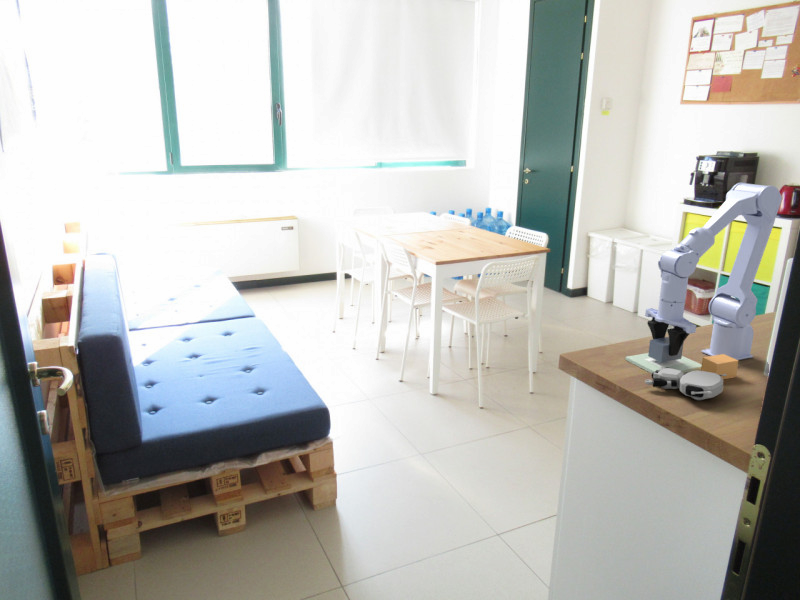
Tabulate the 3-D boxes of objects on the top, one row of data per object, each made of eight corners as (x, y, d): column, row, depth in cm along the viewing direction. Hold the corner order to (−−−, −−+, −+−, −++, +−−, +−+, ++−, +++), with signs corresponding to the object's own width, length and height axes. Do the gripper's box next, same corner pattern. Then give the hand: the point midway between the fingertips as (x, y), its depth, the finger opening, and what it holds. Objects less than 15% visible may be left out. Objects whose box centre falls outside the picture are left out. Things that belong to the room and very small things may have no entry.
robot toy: (641, 394, 136) (713, 409, 126) (642, 376, 135) (714, 389, 125) (660, 378, 144) (728, 390, 135) (660, 360, 143) (730, 372, 134)
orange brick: (720, 370, 146) (723, 353, 145) (735, 377, 142) (738, 360, 141) (700, 374, 144) (702, 357, 143) (714, 381, 140) (717, 364, 139)
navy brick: (667, 352, 152) (670, 336, 151) (681, 358, 148) (683, 342, 147) (648, 356, 150) (650, 339, 149) (661, 362, 146) (663, 345, 145)
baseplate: (668, 352, 158) (668, 349, 157) (704, 369, 147) (705, 365, 147) (625, 359, 153) (625, 356, 153) (659, 377, 142) (660, 374, 142)
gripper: (638, 293, 150) (632, 344, 154) (682, 309, 137) (675, 364, 141) (660, 290, 153) (654, 340, 156) (705, 306, 140) (698, 360, 143)
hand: (665, 351), depth 149 cm, fingers closed on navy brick, 4 cm apart
